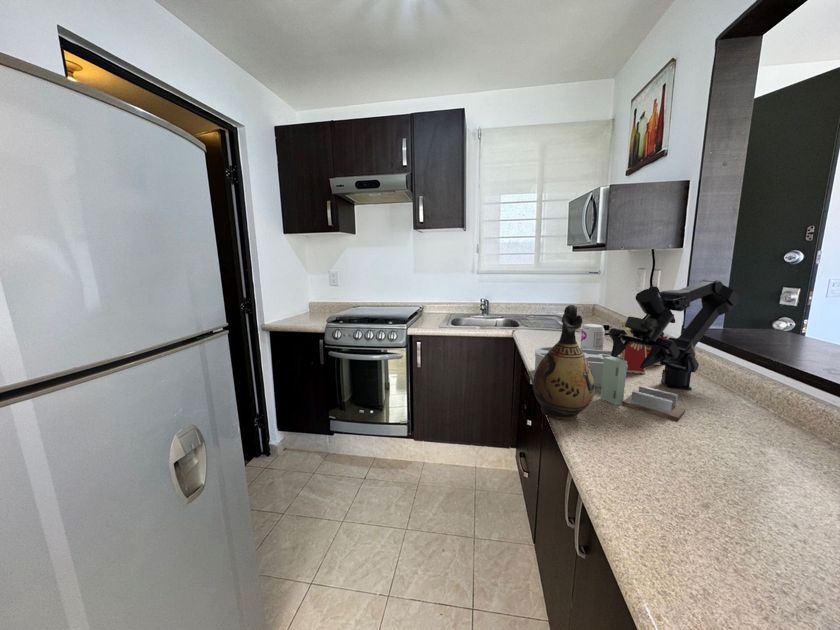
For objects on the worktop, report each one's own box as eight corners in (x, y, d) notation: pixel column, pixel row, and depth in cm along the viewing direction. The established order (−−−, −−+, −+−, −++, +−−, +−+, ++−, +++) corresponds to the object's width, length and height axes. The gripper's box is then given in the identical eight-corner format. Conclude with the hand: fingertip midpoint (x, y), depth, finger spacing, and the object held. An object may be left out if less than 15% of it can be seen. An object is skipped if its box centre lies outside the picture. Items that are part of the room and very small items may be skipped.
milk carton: (638, 366, 126) (644, 316, 123) (646, 374, 118) (652, 320, 114) (612, 364, 129) (617, 315, 126) (618, 371, 120) (623, 319, 117)
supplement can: (580, 362, 131) (583, 326, 129) (578, 356, 139) (581, 322, 136) (603, 364, 128) (606, 328, 126) (600, 358, 136) (603, 324, 133)
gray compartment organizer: (625, 391, 104) (628, 365, 102) (533, 380, 113) (534, 357, 112) (614, 374, 119) (617, 351, 117) (534, 366, 129) (535, 345, 127)
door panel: (607, 396, 99) (611, 356, 97) (623, 403, 95) (627, 361, 92) (600, 398, 98) (603, 357, 96) (615, 405, 94) (619, 362, 91)
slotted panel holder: (622, 404, 94) (623, 390, 93) (631, 396, 99) (633, 383, 98) (677, 421, 84) (680, 405, 83) (685, 411, 89) (687, 396, 88)
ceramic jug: (596, 431, 80) (607, 312, 75) (530, 421, 85) (536, 309, 80) (587, 402, 96) (595, 302, 90) (532, 395, 101) (537, 300, 96)
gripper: (614, 303, 104) (586, 339, 102) (678, 311, 87) (646, 356, 85) (629, 325, 108) (602, 360, 106) (692, 337, 91) (662, 380, 89)
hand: (625, 363), depth 96 cm, fingers open, 9 cm apart
